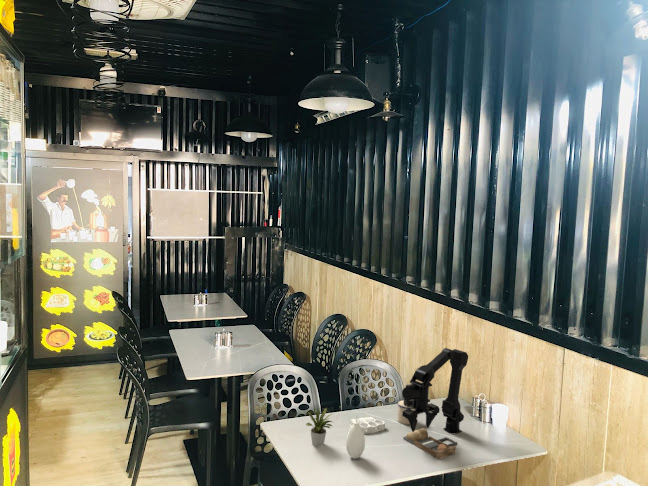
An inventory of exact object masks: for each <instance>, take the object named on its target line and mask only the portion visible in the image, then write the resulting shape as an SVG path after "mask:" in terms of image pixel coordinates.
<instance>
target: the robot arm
mask: <svg viewBox="0 0 648 486" xmlns="http://www.w3.org/2000/svg"><path fill="white" fill-rule="evenodd" d="M448 361H449V363H450V367H451V372H450V378H449V385H448V392H447V397H446V398H445V400H444V399H443V400H442V401H441V402H442V403H441V404H442V405H441V407H439V406H438V405H436V404H434V403H430V402H431V399H429V393H430V387H433V384H432V383H431V382H432V380H433V379H434V378H435V374H436V372H438V371H439V370H440V369H441V368H442V367H443V366H444V365H445V364H446V363H447V362H448ZM468 361H469V354H468V353H467V352H466V351H462V350H459V349H456V348H454V349H451V348H447V347H444V348H443V349H442V350H441V352H440V353H438V354H437V355H436V356H435V357H434V358H433V359H432V360H431V361H430V362H429V363H427V364H425V365H421V366H420V367H419V366H418V367H417V368H416V370H414V373H413V375H412V377H411V379H410V380H409V383H410V384H406V385H405V387H404V388H403V389H402V391H401V394H402V398H403V400H404V406H407V407H412V409H415V411H413V410H411V409H407V410H404V411H403V414H402V416H403V417H405V418H407V419H408V421H409V423H410V424H409V426H410V430H411V432H414V431H415V430H416V429H417V427H416V426H417V422H418V415H422V414H424V413H425V427H426V429H429V428H430V426H431V424H432V422H433V421H434V419H435V417H436V416H437V415H438V414H440V408H441V412H442V414H443V417H446V421H445V427H443V428H442V430H444V431H446V432H448V433H450V434H451V435H455V434H458V433H461V432H463V430H462V429H460V427H461V426H460V423H461V422H462V421H464V418H465V414H463V413H462V411H461V403H460V401H459V395H460V390H461V389H460V388H461V382H462V376H463V375H462V374H463V369H465V367H466V366H467V363H468Z"/></svg>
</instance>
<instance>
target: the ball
mask: <svg viewBox="0 0 648 486" xmlns="http://www.w3.org/2000/svg"><path fill="white" fill-rule="evenodd" d="M445 448H447V447H446V445H444V444H440V445H439V446H438V447H437V451H439V450H442V449H445Z"/></svg>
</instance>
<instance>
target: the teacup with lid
mask: <svg viewBox="0 0 648 486" xmlns="http://www.w3.org/2000/svg"><path fill="white" fill-rule="evenodd" d="M407 409H411V410H413V411H415V409H412V407H407V406H404V399H403V400H399V401H398V402H397V422H398V423H400V424H402V425H410V423H409V421H408V419H407V418H405V417H403V416H402V414H403V411H404V410H407Z"/></svg>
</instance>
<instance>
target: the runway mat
mask: <svg viewBox="0 0 648 486" xmlns="http://www.w3.org/2000/svg"><path fill="white" fill-rule="evenodd" d="M402 439H403V440H404V441H405V442H408V443H409V444H411V445H414V442H413V441H411V440H409V439H407V435H406V436H403V437H402ZM417 442H419V443H421V444H423V445H425V446H427V447H428V448H430V449H432V450H434V449H436V448H437V449H438V446H439V445H440V444H438V443H436V442H434V441H432V440H430V439H428V438H426V439H422V440H419V441H417ZM414 446H415V445H414ZM418 446H419V445H418ZM419 449H420V450H422V449H421V448H419Z"/></svg>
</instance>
